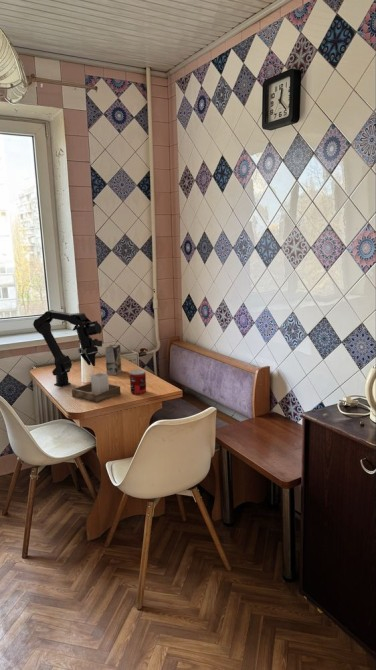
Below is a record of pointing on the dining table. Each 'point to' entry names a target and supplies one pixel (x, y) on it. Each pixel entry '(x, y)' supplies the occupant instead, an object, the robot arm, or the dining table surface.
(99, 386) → the light grey block
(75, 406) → the dining table surface
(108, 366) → the coffee box
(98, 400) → the walnut crate
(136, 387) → the canned food
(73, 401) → the dining table surface
